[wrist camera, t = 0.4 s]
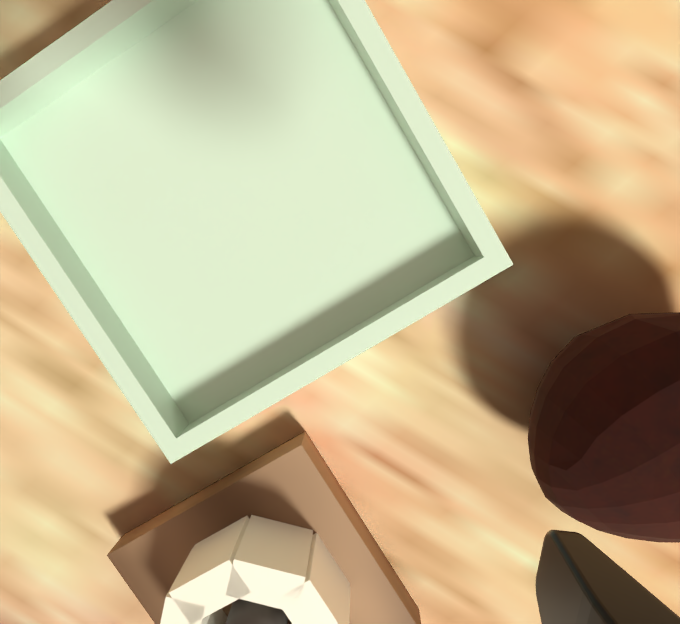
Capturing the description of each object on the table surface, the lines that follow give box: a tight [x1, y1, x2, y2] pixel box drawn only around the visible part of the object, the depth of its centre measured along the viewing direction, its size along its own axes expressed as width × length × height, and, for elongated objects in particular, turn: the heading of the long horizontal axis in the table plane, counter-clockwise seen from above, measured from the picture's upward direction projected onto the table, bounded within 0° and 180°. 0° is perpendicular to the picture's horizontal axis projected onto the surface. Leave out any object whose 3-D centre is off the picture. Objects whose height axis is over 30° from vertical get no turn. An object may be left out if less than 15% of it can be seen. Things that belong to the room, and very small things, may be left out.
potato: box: [528, 313, 680, 542], centre depth 18 cm, size 8×9×8 cm
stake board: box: [107, 431, 421, 624], centre depth 21 cm, size 10×10×5 cm
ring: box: [160, 515, 350, 624], centre depth 20 cm, size 7×7×3 cm
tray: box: [0, 0, 514, 464], centre depth 20 cm, size 16×16×2 cm
